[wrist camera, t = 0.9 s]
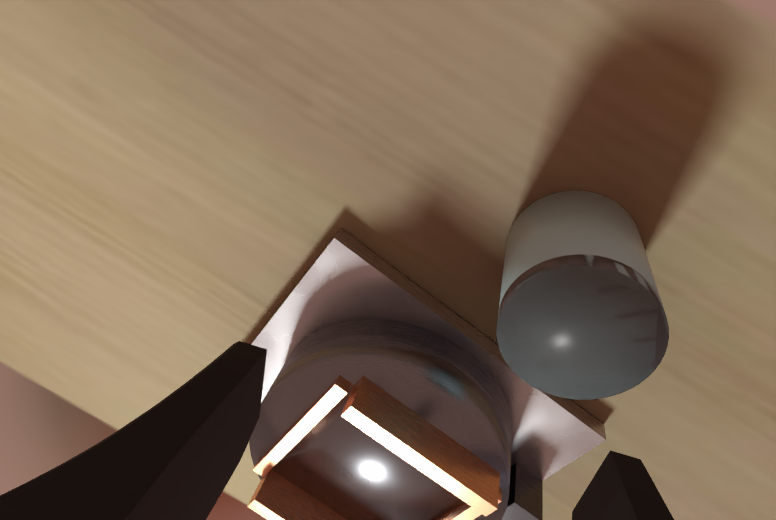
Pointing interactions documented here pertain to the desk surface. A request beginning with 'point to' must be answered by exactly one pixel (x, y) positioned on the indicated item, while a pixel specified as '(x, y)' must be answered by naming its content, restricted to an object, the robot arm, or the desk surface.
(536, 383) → the cylinder
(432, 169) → the desk surface
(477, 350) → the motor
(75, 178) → the desk surface
